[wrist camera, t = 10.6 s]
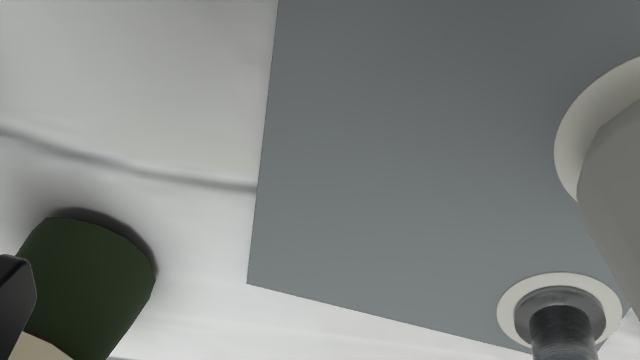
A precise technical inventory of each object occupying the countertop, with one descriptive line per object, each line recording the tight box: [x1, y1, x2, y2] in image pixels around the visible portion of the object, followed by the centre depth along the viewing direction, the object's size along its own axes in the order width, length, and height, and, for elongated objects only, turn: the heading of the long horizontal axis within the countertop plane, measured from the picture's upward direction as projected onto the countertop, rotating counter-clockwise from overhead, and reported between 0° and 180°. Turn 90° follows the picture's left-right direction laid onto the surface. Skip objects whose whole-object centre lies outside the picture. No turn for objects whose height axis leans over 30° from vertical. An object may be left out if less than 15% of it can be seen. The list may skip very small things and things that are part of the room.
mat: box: [246, 0, 640, 354], centre depth 20 cm, size 17×25×1 cm
